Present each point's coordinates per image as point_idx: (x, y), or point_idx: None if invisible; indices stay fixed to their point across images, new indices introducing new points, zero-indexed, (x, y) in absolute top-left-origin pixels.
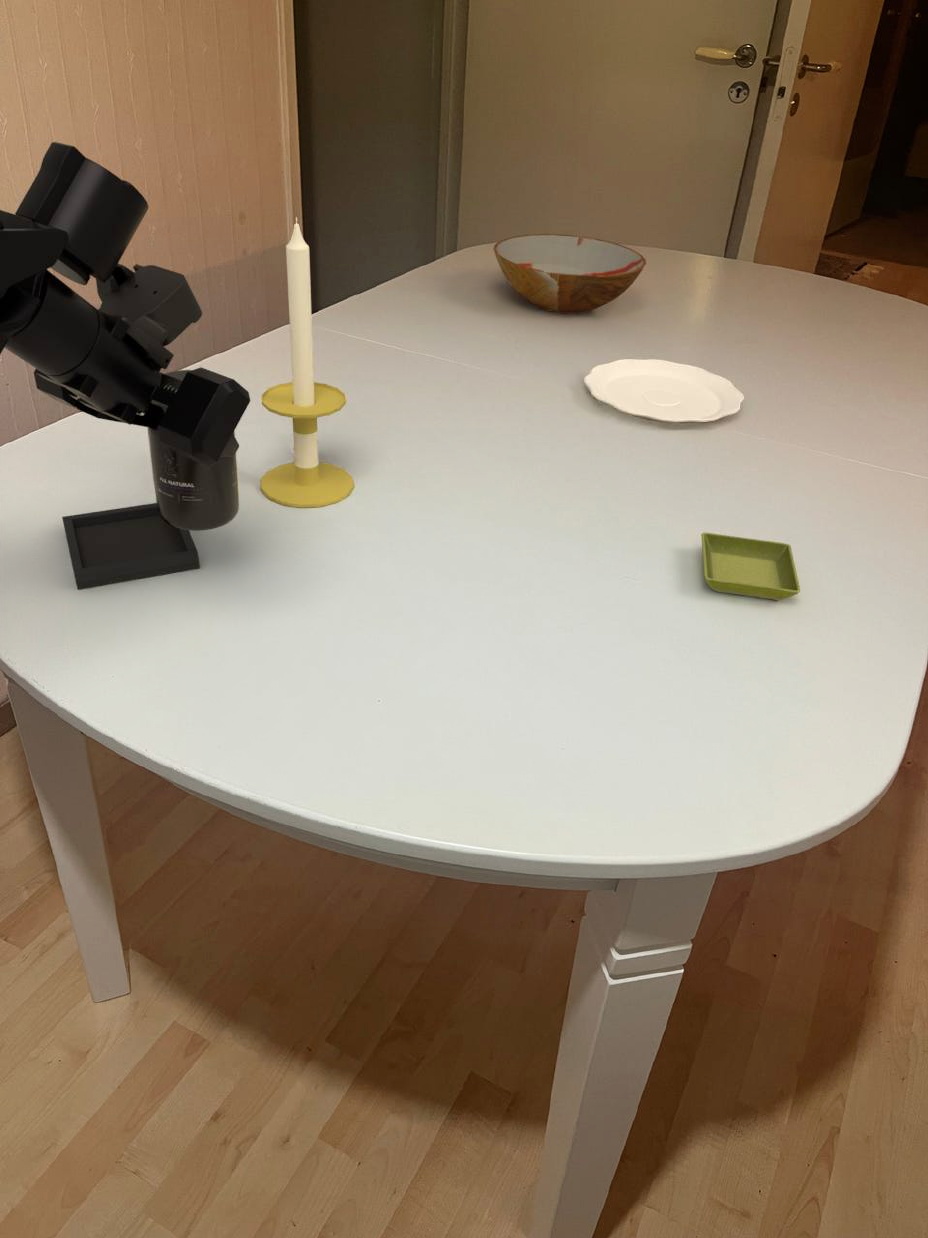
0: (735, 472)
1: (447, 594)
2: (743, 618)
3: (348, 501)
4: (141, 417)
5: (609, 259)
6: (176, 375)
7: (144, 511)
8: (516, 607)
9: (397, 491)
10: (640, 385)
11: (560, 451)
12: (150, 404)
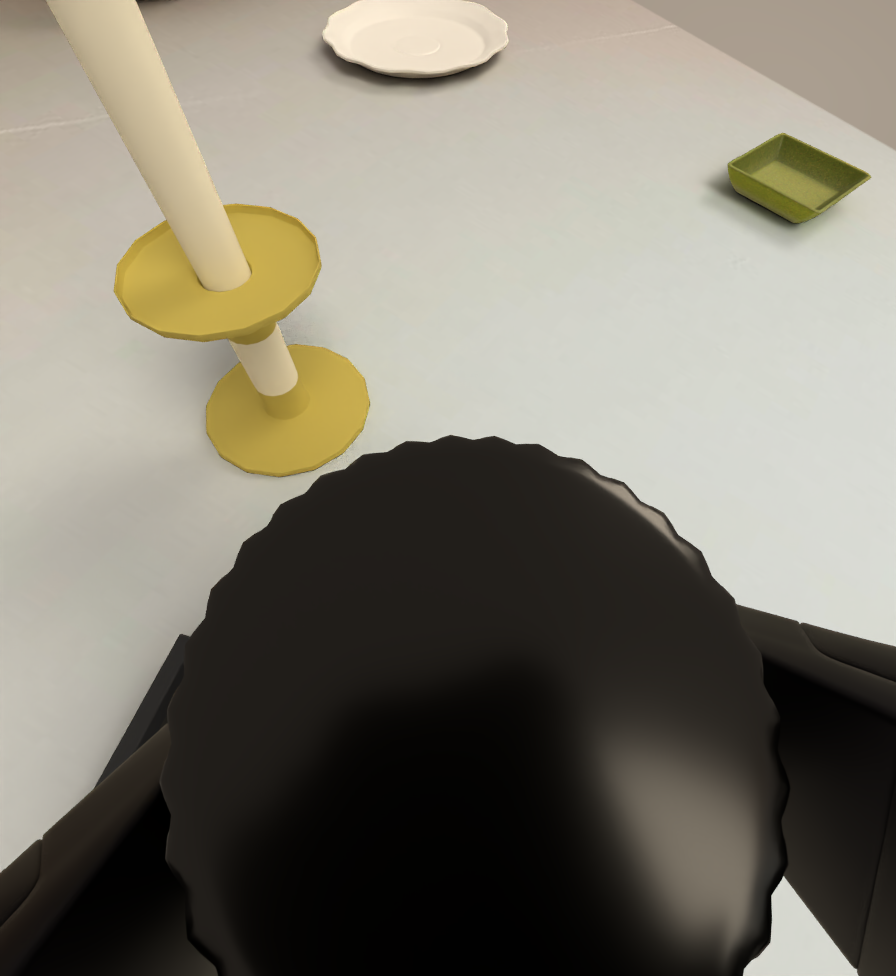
0: (591, 91)
1: (684, 426)
2: (852, 236)
3: (377, 389)
4: (203, 960)
5: None
6: (305, 712)
7: (158, 716)
8: (748, 380)
9: (400, 327)
10: (380, 41)
11: (446, 157)
12: (168, 869)
